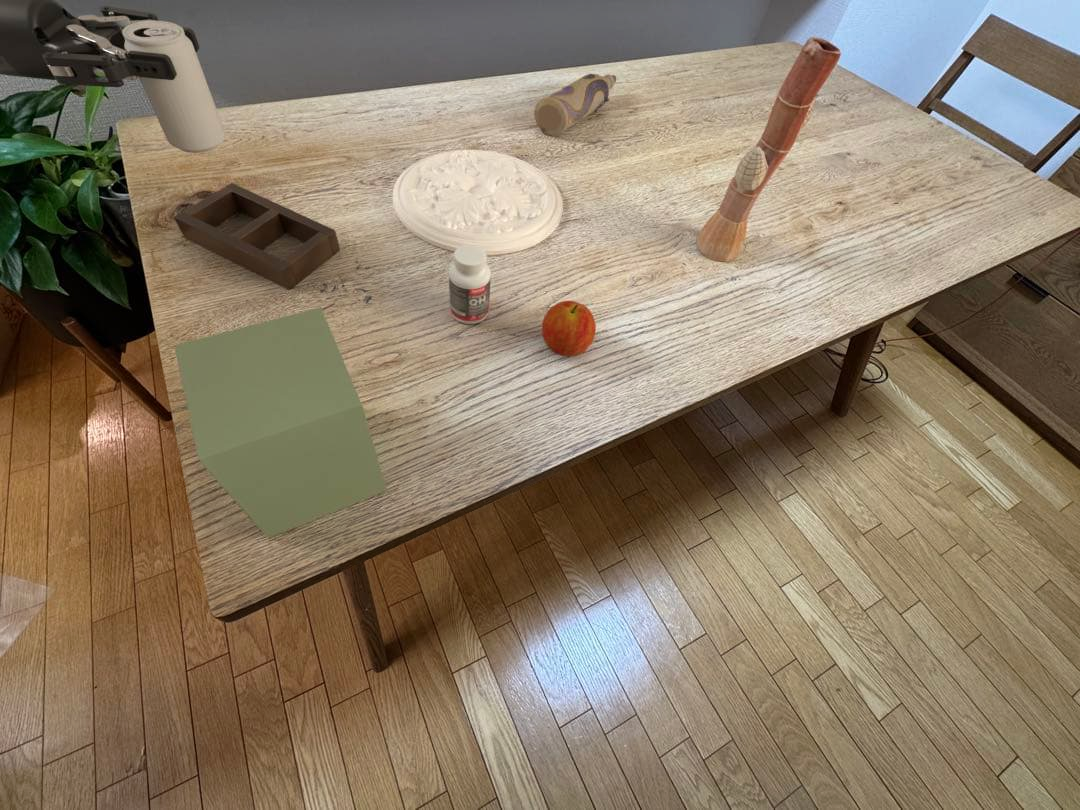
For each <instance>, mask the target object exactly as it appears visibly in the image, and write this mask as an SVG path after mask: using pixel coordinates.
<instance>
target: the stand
mask: <svg viewBox="0 0 1080 810" xmlns="http://www.w3.org/2000/svg"><path fill="white" fill-rule="evenodd" d="M173 347H174V351H175V356H176V361H177V365H178V371H179V375H180V379H181V384H182V389H183V394H184V399H185V403H186V408H187V414H188V417H189V423H190V427H191V432H192V437H193V442H194V446H195V450H196V455H197V460H198V461H199V463H200V464H202V466H203V467H204V468H205V469H206V470H207V471H208V472H209V474H210V475H211V476H212V477H213V478H214V479H215V480H216V481H217V483H219V485H220V486H221V487H222V488H223V489H224V490H225V491H226V493H227V494H228V495H229V496H230V497H231V498H232V499H233V500H234V502H235V503H236V504H237V505H238V506H239V508H241V510H242V511H243V512H244V513H245V514H246V516H248V517H249V518H250V520H251V521H252V522H253V523H254V524H255V526H256V527H257V528H258V529H259V530H260V531H261V532H262V533H263V534H264V536H265V537H266V538H267V539H270V538H273V537H275V536H277V535H280V534H283V533H285V532H288V531H290V530H292V529H295V528H298V527H300V526H303V525H305V524H308V523H310V522H313V521H315V520H318V519H321V518H322V517H325V516H327V515H330V514H333V513H335V512H337V511H340V510H342V509H344V508H347V507H350V506H352V505H354V504H358V503H359V502H363V501H364V500H367V499H369V498H372V497H374V496H377V495H380V494H382V493H385V492H387V491H388V487H387V484H386V481H385V476H384V474H383V471H382V467H381V464H380V461H379V460H380V459H379V456H378V454H377V450H376V447H375V444H374V440H373V437H372V433H371V431H370V427H369V422H368V420H367V417H366V413H365V410H364V407H363V404H362V401H361V399H360V397H359V394H358V392H357V389H356V386H355V384H354V382H353V380H352V378H351V375H350V373H349V370H348V368H347V366H346V363H345V361H344V358H343V356H342V354H341V352H340V351H341V350H340V349H339V347H338V344H337V341H336V339H335V337H334V335H333V332H332V330H331V327H330V325H329V323H328V321H327V318H326V316H325V313H324V311H323V309H322V307H321V306H319V307H316V308H312V309H308V310H304V311H301V312H297V313H293V314H289V315H285V316H282V317H278V318H274V319H269V320H265V321H262V322H257V323H255V324H251V325H247V326H243V327H240V328H236V329H232V330H228V331H224V332H220V333H217V334H212V335H209V336H205V337H201V338H197V339H193V340H190V341H185V342H182V343H178V344H174V346H173Z"/></svg>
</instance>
